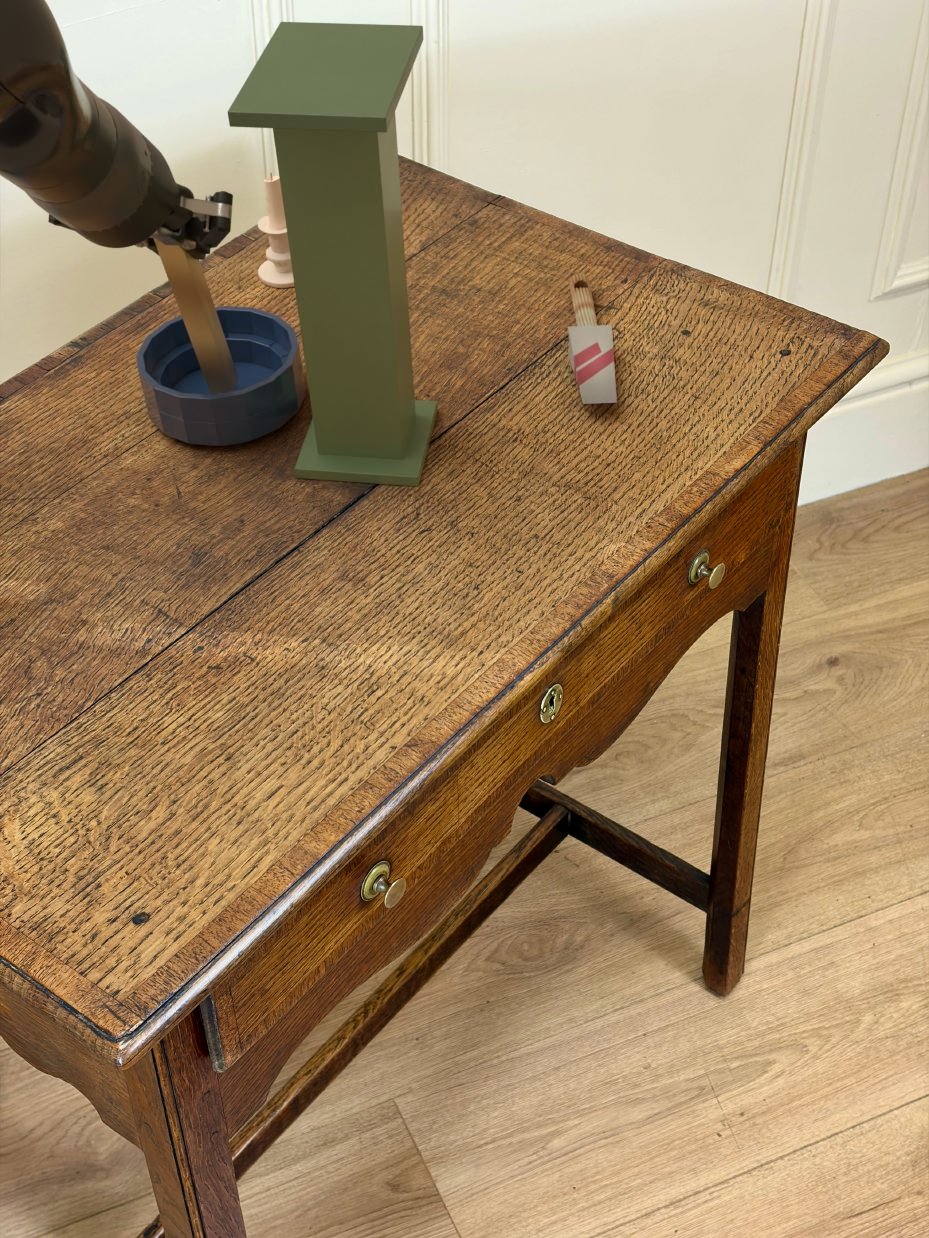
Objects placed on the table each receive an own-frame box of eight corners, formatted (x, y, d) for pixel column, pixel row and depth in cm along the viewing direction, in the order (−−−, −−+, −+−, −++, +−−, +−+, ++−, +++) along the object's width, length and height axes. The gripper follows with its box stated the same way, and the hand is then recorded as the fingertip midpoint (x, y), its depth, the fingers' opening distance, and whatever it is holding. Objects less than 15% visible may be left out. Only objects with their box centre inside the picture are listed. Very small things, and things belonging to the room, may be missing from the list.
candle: (248, 273, 126) (231, 171, 118) (292, 254, 128) (278, 153, 121) (278, 294, 123) (263, 192, 115) (323, 274, 125) (311, 173, 118)
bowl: (129, 447, 107) (114, 393, 103) (176, 355, 116) (164, 302, 112) (285, 458, 106) (276, 403, 102) (320, 364, 115) (313, 310, 111)
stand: (289, 494, 103) (226, 111, 80) (327, 389, 112) (280, 21, 90) (414, 503, 101) (385, 117, 79) (441, 396, 111) (422, 25, 89)
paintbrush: (576, 388, 106) (560, 269, 121) (575, 416, 108) (559, 295, 122) (623, 387, 106) (601, 267, 120) (622, 415, 108) (600, 294, 122)
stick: (167, 205, 91) (174, 185, 92) (140, 204, 91) (147, 183, 92) (233, 396, 109) (238, 378, 110) (210, 395, 109) (216, 376, 110)
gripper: (203, 112, 80) (278, 199, 97) (-10, 104, 81) (101, 192, 99) (194, 234, 80) (270, 300, 97) (-18, 225, 81) (94, 291, 99)
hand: (184, 245), depth 98 cm, fingers closed on stick, 2 cm apart
